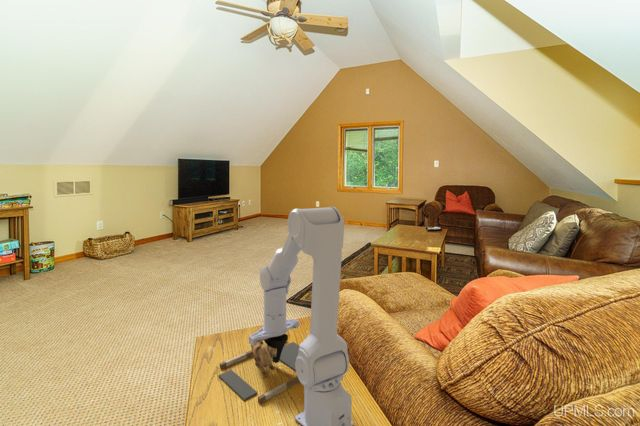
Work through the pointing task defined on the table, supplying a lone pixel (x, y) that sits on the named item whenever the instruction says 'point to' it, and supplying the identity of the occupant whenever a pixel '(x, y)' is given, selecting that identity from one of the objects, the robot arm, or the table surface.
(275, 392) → the wooden sticks
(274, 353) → the lion figurine
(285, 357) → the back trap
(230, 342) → the table surface
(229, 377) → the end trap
